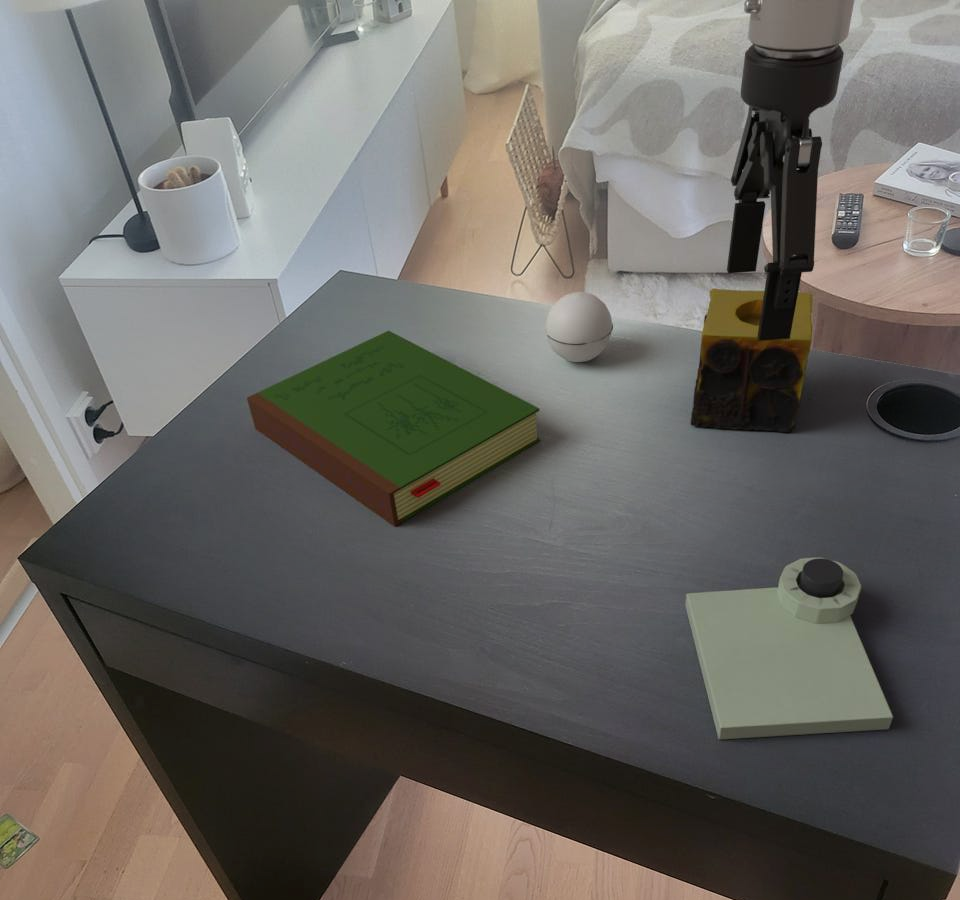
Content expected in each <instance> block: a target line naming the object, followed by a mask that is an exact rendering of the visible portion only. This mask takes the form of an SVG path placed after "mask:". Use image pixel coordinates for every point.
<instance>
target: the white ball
mask: <svg viewBox="0 0 960 900" xmlns="http://www.w3.org/2000/svg"><path fill="white" fill-rule="evenodd" d="M544 329H545V334H546V340H547V343H548V344H549V346H550V348H551V349H552V351H553V352H554V353H555V354H556V355H557V356H559V357H560V358H561V359H564V361H565V360H566V361H567V362H572V363H583V362H587V361H591V360H592V359H594V358H595V359H596V357H597V356H599V355H600V354H601V353H602V352H603V351H604V350H605V349H606V347H607V346H608V344H609V342H610V340H611V337H612V338H613V337H614V338H621V339H629V340H630V339H631V340H632V338H631V337H625V336H619V335H612V332H613V329H614V324H613V320H612V315H611V312H610V310H609V309H608V307H607V305H606V303H605V302H603V300H601V299H600V298H599V297H598V296H597V295H595V294H592V293H590V292H585V291H576V292H570V293H568V294H565V295H563V296H562V297H560V298H559V299H558V300H557V301H556V302H554V304H553V305H552V306H551V308H550V310H549V312H548V314H547V316H546V321H545V327H544Z"/></svg>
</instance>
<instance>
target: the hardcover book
mask: <svg viewBox="0 0 960 900" xmlns="http://www.w3.org/2000/svg"><path fill="white" fill-rule="evenodd" d="M246 401H247V403H248V409H249V411H250V414H251V419H252V422H253V425H254V429H255V430H256V431H258V432H260V434H262V435H263V436H265V437H266V438H268V439H269V440H271V441H272V442H274V443H275V444H277V445H278V446H279V447H280V448H282V449H284V451H286V452H288V453H289V454H291V455H292V456H293V457H295V458H296V459H298V460H299V461H301V462H302V463H303V464H305V465H306V466H307V467H309V468H310V469H312V470H313V471H315V472H316V473H317V474H319V475H321V476H322V477H323V478H324V479H326V480H328V482H330V483H332V484H333V485H335V486H336V487H337V488H339V489H341V490H342V491H343V492H345V493H346V494H348V495H349V496H350V497H351V498H353V499H355V500H356V501H357V502H358V503H360V504H362V505H363V506H364V507H366V508H367V509H368V510H370V511H372V512H373V513H375V514H376V515H377V516H379V517H380V518H382V519H383V520H385V521H386V522H388V523H389V524H391V526H392V527H397V526H399V525H401V524H402V523H404V522H405V521H407V520H408V519H410V518H412V517H414V516H416V515H417V514H419V513H421V512H422V511H424V510H426V509H427V508H429V507H430V506H432V505H434V504H437V502H439V501H441V500H442V499H445V498H446V497H448V496H450V495H452V494H454V492H456V491H458V490H460V489H462V488H463V487H465V486H466V485H468V484H470V483H472V482H473V481H475V480H477V479H478V478H480V477H482V476H484V475H485V474H487V473H488V472H490V471H492V470H494V469H496V468H497V467H498V466H501V465H502V464H504V463H505V462H507V461H509V460H511V459H512V458H514V457H516V456H517V455H519V454H521V453H523V452H524V451H526V450H528V449H530V448H531V447H534V445H536V444H538V443H540V442H541V438H540V437H539V436H538V435H537V434H538V433H537V432H538V431H537V413H538V412H539V411H540V408H539V407H538V406H536V405H534V404H532V403H530V402H528V401H526V400H524V399H522V398H520V397H518V396H517V395H514V394H512V393H510V391H509V392H508V391H507V390H505V389H503V388H502V387H499V386H497V385H495V384H493V383H492V382H489V381H487V380H485V379H483V378H481V377H480V376H477V375H476V374H474V373H472V372H470V371H468V370H466V369H464V368H462V367H460V366H458V365H456V364H455V363H453V362H451V361H449V360H447V359H446V358H443V357H441V356H440V355H437V354H435V353H433V352H431V351H429V350H428V349H425V348H424V347H421V346H419V345H418V344H416V343H413V342H412V341H410V340H408V339H406V338H405V337H402V336H400V335H398V334H396V333H395V332H393V331H391V330H387V331H384V332H382V333H380V334H378V335H376V336H374V337H372V338H370V339H367V340H366V341H363V342H361V343H359V344H357V345H355V346H353V347H351V348H348V349H346V350H344V351H343V352H340V353H338V354H336V355H334V356H332V357H329V358H327V359H325V360H323V361H321V362H319V363H317V364H315V365H313V366H311V367H308V368H306V369H304V370H302V371H300V372H298V373H296V374H294V375H292V376H289V377H287V378H285V379H284V380H280V381H279V382H276V383H275V384H272V385H270V386H268V387H266V388H264V389H262V390H260V391H258V392H256V393H254V394H251V395H249V396H247V397H246Z"/></svg>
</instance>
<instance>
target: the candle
mask: <svg viewBox="0 0 960 900" xmlns="http://www.w3.org/2000/svg"><path fill="white" fill-rule="evenodd" d="M764 291H765V290H743V289H740V290H739V289H725V288H724V289H720V288H712V289H710V290H709V299H710V300H709V303H708V309H707V313H706V314H705V315H704V319H703V326H702V330H701V341H700V342H701V343H700V354H699V361H698V368H697V373H696V374H697V375H696V379H695V386H694V393H693V402H692V403H693V405H692V409H691V410H692V412H691V417H690V425H691V426H692V427H703V428H714V429H730V430H744V431H745V430H746V431H765V432H779V433H780V432H781V433H791V432H793V431H794V430H795V428H796V422H797V420H796V419H797V416H798V414H799V409H800V402H801V397H802V392H803V385H804V379H805V375H806V367H807V364H808V359H809V353H810V351H811V345H812V340H813V325H812V310H813V298H814V297H813V296H814V295H813V293H811V292H803V291H798V296H797V302H796V307H795V313H794V318H793V324H792V329H791V335H790V339H776V340H762V341H759V339H758V337H757V336H758V329H759V323H760V317H761V310H762V304H763V297H764Z"/></svg>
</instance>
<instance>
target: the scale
mask: <svg viewBox="0 0 960 900" xmlns="http://www.w3.org/2000/svg"><path fill="white" fill-rule="evenodd" d="M819 558H821V559H826V558H824V557H804V558H798V559H797V560H795V561H793V562H791V563H789V564H787V565H786V566H785V567H784V568H783V570H782V573H781V575H780V577H779V580H778V585H777V587H775V586H774V587H763V588H760V587H759V588H748V589H734V590H733V589H732V590H731V589H730V590H717V591H716V590H715V591H703V592H688V593H686V595H685V604H684V606H685V610H686V614H687V617H688V622H689V626H690V630H691V634H692V639H693V642H694V646H695V650H696V654H697V658H698V663H699V667H700V670H701V675H702V677H703V683H704V686H705V691H706V694H707V698H708V699H707V700H708V702H709V707H710V710H711V714H712V718H713V723H714V727H715V730H716V735H717V738H718V740H733V739H737V740H738V739H751V738H752V739H753V738H764V737H765V738H769V737H783V736H799V735H801V736H803V735H818V734H832V733H833V734H834V733H835V734H836V733H848V732H849V733H850V732H866V731H880V730H881V731H882V730H889V729H890V727H891V724H892V721H893V719H894V715H893V713H892V710H891V709H890V706H889V704H888V701H887V699H886V696H885V694H884V692H883V689H882V687H881V685H880V683H879V680H878V677H877V675H876V673H875V671H874V668H873V667H872V664H871V662H870V659H869V656H868V654H867V652H866V650H865V647H864V645H863V643H862V640H861V638H860V636H859V633H858V630H857V627H856V626H855V623H854V621H853V619H852V616H851V615H852V614H853V613H854V611H855V608H856V606H857V603H858V601H859V597H860V594H861V590H862V585H861V583H860V582H861V581H860V580H859V578H858V575H857V574H856V572H854V571H853V570H851V569H850V568H849V567H847V566H846V565H844V564H843V563H841V562H839V561H837V560H832V559H828V558H827V559H828V560H831V561H834V562H835V563H837V564H838V565H839V566H840V567H841V568H842V570H843V578H842V582H841V586H840V589H839V592H838V593H837V594H836V595H834V596H832V597H829V598H817V597H814V596H810V595H808V594H806V593H805V592H804V591H803V590H802V589H801V587H800V579H801V574H802V570H803V566H804V565H805V563H807V562H808V561H810V560H812V559H819Z"/></svg>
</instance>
